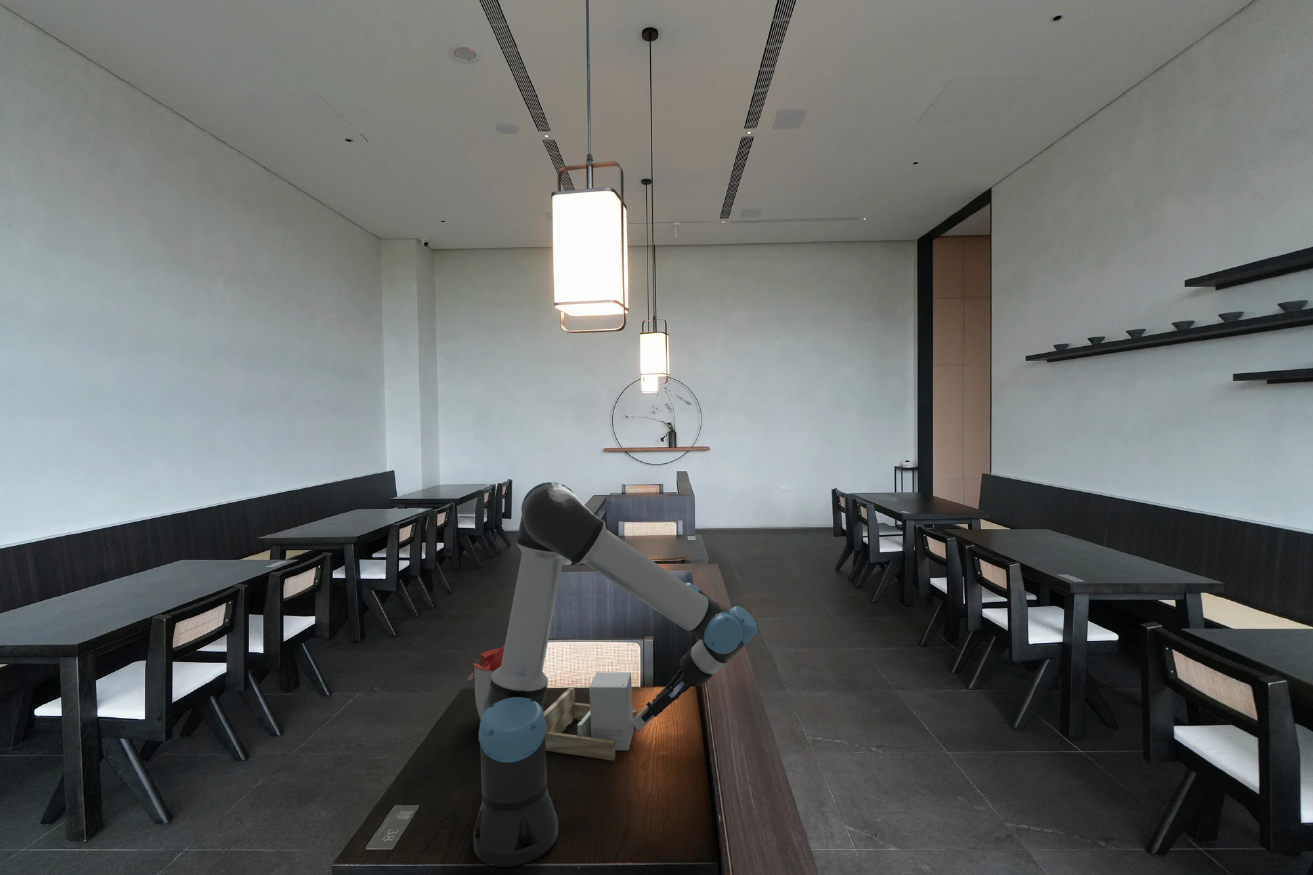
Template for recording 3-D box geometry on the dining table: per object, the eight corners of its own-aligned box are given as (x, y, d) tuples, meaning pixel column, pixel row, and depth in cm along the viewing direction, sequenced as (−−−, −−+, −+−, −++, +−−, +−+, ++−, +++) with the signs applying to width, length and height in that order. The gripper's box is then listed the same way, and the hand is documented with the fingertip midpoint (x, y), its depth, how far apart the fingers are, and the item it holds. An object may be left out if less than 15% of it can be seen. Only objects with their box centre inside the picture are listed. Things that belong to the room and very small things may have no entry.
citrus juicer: (480, 709, 160) (477, 635, 159) (544, 708, 159) (541, 634, 159) (458, 739, 144) (455, 658, 144) (529, 738, 143) (526, 657, 143)
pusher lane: (613, 760, 133) (612, 725, 133) (541, 749, 138) (540, 715, 138) (637, 725, 148) (636, 694, 148) (571, 717, 153) (570, 686, 153)
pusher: (582, 750, 137) (581, 725, 136) (578, 750, 137) (577, 724, 137) (604, 723, 149) (603, 699, 149) (600, 722, 149) (599, 699, 149)
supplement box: (634, 731, 145) (632, 671, 145) (629, 751, 136) (627, 687, 136) (598, 730, 146) (596, 670, 146) (590, 750, 137) (588, 686, 137)
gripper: (707, 686, 128) (637, 752, 133) (719, 663, 140) (655, 724, 145) (683, 660, 129) (615, 726, 134) (697, 639, 142) (634, 700, 147)
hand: (636, 725), depth 140 cm, fingers closed
